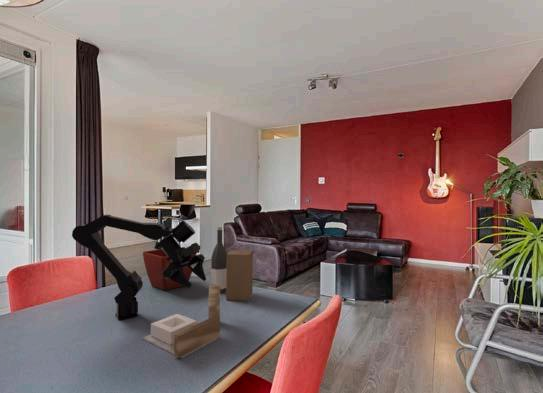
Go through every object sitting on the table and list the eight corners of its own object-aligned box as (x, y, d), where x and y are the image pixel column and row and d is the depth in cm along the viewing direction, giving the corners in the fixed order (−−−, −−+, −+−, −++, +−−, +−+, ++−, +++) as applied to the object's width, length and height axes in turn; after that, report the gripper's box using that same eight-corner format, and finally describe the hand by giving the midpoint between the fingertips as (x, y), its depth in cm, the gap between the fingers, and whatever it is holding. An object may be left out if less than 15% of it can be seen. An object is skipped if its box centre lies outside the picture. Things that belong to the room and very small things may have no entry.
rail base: (140, 340, 94) (140, 319, 94) (181, 322, 107) (182, 304, 107) (178, 359, 84) (179, 336, 83) (219, 337, 97) (220, 317, 97)
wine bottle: (224, 293, 139) (224, 228, 139) (207, 291, 141) (208, 227, 141) (230, 287, 147) (230, 226, 147) (214, 286, 149) (215, 225, 149)
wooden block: (252, 293, 139) (253, 250, 139) (248, 301, 129) (249, 254, 129) (231, 292, 140) (231, 249, 140) (225, 300, 130) (226, 254, 130)
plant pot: (175, 277, 164) (175, 246, 163) (197, 285, 151) (197, 251, 151) (141, 285, 149) (141, 251, 149) (162, 294, 137) (162, 257, 137)
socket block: (150, 335, 96) (150, 323, 96) (176, 324, 104) (176, 313, 104) (170, 345, 90) (170, 332, 90) (196, 332, 98) (196, 320, 98)
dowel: (211, 326, 105) (211, 288, 105) (206, 322, 108) (206, 285, 108) (221, 323, 107) (222, 286, 107) (216, 319, 110) (217, 283, 110)
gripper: (169, 240, 103) (196, 276, 99) (201, 233, 121) (225, 263, 117) (150, 261, 106) (176, 296, 102) (184, 251, 124) (207, 281, 120)
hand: (198, 283), depth 110 cm, fingers open, 9 cm apart
